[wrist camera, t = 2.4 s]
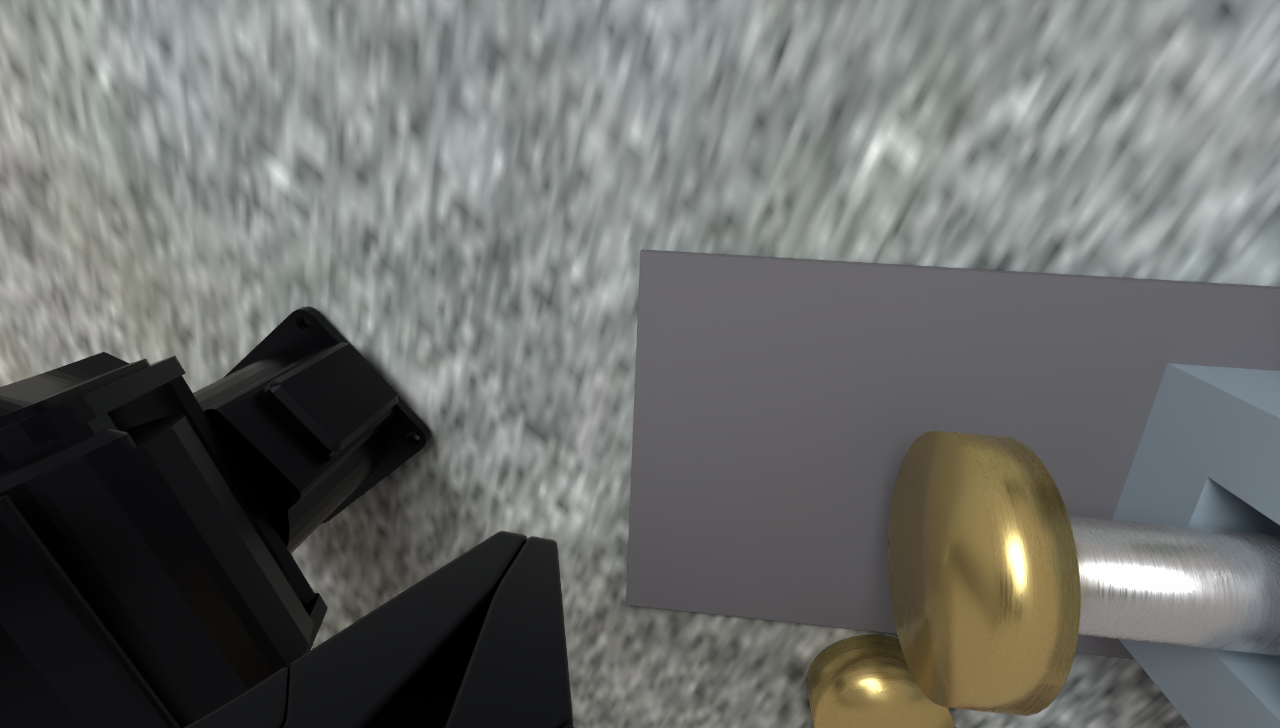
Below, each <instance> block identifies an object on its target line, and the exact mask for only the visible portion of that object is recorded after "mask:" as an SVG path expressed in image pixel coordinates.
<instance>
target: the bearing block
mask: <svg viewBox="0 0 1280 728" xmlns="http://www.w3.org/2000/svg"><path fill="white" fill-rule="evenodd" d="M1112 520H1118V521H1129V522H1140V523H1151V524H1163V525H1174V526H1185V527H1196V528H1207V529H1219V530H1230V531H1241V532H1252V533H1264V534H1275V535H1280V371H1271V370H1257V369H1242V368H1228V367H1213V366H1199V365H1184V364H1170V363H1168V364H1167V367H1166V370H1165V373H1164V375H1163V378H1162V381H1161V384H1160V387H1159V389H1158V392H1157V395H1156V398H1155V401H1154V404H1153V406H1152V409H1151V412H1150V415H1149V418H1148V420H1147V423H1146V426H1145V429H1144V432H1143V435H1142V437H1141V440H1140V443H1139V446H1138V449H1137V451H1136V454H1135V457H1134V460H1133V463H1132V466H1131V468H1130V471H1129V474H1128V477H1127V480H1126V482H1125V485H1124V488H1123V491H1122V494H1121V497H1120V499H1119V502H1118V505H1117V508H1116V511H1115V513H1114V516H1113V519H1112ZM1119 640H1120V641H1121V643H1122V644H1123V645H1124V646H1125V647H1126V649H1127V650H1128V651H1129V652H1130V654H1131V655H1132V656H1133V657H1134V658H1135V660H1136V661H1137V662H1138V663H1139V665H1140V666H1141V667H1142V668H1143V669H1144V671H1145V672H1146V673H1147V674H1148V676H1149V677H1150V678H1151V679H1152V680H1153V682H1154V683H1155V684H1156V685H1157V687H1158V688H1159V689H1160V690H1161V691H1162V693H1163V694H1164V695H1165V696H1166V697H1167V699H1168V700H1169V701H1170V702H1171V704H1172V705H1173V706H1174V707H1175V708H1176V710H1177V711H1178V712H1179V713H1180V715H1181V716H1182V717H1183V718H1184V719H1185V721H1186V722H1187V723H1188V724H1189V726H1190V727H1191V728H1280V656H1277V655H1267V654H1258V653H1248V652H1239V651H1229V650H1219V649H1210V648H1200V647H1190V646H1181V645H1171V644H1162V643H1152V642H1142V641H1133V640H1123V639H1119Z"/></svg>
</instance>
